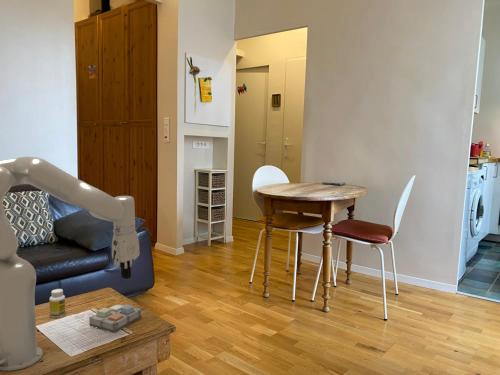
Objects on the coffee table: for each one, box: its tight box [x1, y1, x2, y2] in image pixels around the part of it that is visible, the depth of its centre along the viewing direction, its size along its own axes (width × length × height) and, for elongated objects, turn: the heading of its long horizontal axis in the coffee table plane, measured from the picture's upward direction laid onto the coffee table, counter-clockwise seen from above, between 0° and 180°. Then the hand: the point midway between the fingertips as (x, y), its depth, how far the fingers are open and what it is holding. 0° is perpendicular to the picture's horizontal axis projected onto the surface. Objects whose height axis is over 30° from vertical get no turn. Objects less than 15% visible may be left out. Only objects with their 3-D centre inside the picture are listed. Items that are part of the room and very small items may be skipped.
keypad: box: [88, 303, 142, 334], centre depth 146 cm, size 14×12×3 cm
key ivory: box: [109, 304, 123, 312], centre depth 149 cm, size 3×3×3 cm
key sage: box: [96, 307, 111, 318], centre depth 144 cm, size 3×3×3 cm
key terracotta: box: [109, 314, 123, 322], centre depth 142 cm, size 3×3×3 cm
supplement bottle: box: [49, 288, 66, 318], centre depth 150 cm, size 5×5×10 cm
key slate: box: [121, 304, 135, 315], centre depth 147 cm, size 3×3×3 cm
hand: (126, 277), depth 145 cm, fingers closed
